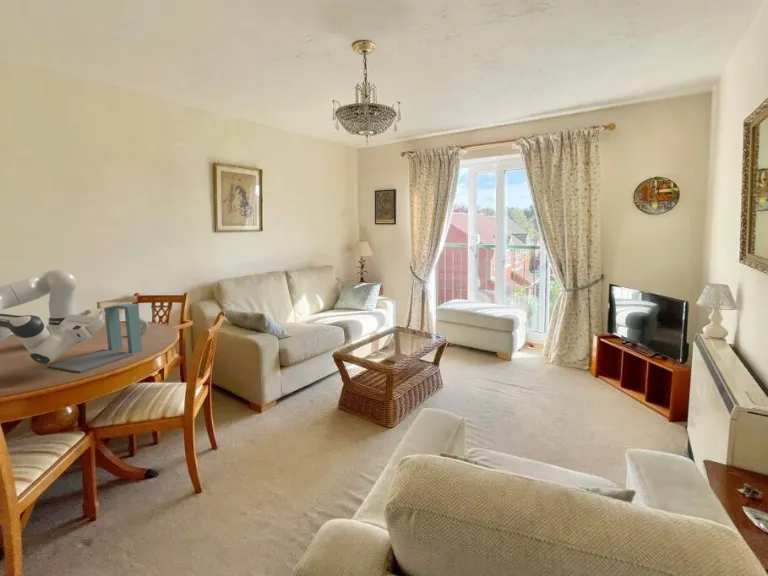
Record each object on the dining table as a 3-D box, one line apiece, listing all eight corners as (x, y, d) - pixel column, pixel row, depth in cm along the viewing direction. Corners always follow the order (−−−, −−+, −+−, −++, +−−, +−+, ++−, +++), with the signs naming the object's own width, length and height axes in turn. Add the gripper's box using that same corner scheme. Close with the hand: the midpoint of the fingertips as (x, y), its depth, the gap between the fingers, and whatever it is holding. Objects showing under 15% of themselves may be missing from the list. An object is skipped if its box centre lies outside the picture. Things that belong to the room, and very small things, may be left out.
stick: (97, 308, 186) (96, 302, 186) (133, 301, 204) (133, 295, 204) (101, 308, 186) (100, 302, 185) (137, 301, 204) (136, 295, 203)
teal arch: (108, 350, 200) (103, 304, 196) (119, 347, 205) (114, 302, 202) (132, 354, 195) (127, 306, 191) (142, 350, 200) (138, 304, 197)
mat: (48, 367, 176) (48, 365, 176) (103, 350, 199) (103, 349, 199) (80, 372, 170) (80, 371, 170) (133, 355, 193) (133, 353, 193)
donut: (129, 336, 225) (128, 319, 224) (129, 335, 228) (127, 318, 226) (149, 333, 231) (148, 317, 230) (148, 332, 234) (147, 315, 233)
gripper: (59, 335, 179) (84, 314, 189) (92, 339, 173) (116, 318, 183) (50, 325, 175) (76, 304, 185) (83, 329, 169) (108, 307, 179)
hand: (96, 311), depth 184 cm, fingers open, 8 cm apart
